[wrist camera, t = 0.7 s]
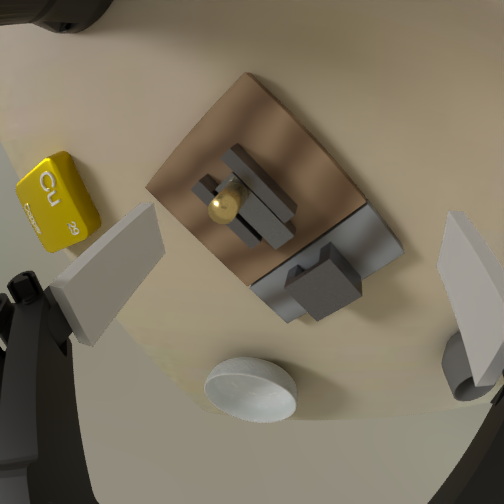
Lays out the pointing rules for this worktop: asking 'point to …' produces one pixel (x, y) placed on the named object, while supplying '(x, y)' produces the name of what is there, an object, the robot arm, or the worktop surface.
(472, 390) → the cup
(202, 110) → the worktop surface
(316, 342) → the worktop surface
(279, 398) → the cereal bowl
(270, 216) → the bolt
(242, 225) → the bolt housing
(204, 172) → the door and jamb
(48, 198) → the element tile
